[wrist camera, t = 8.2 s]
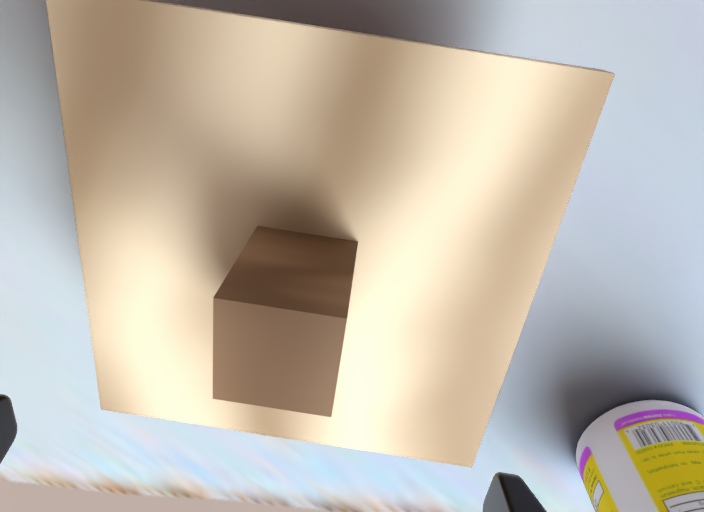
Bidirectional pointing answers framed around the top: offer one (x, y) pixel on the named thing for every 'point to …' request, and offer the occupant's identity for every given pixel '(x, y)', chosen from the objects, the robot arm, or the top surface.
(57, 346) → the top surface
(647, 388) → the top surface
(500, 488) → the robot arm
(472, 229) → the lid
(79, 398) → the top surface
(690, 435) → the supplement bottle
